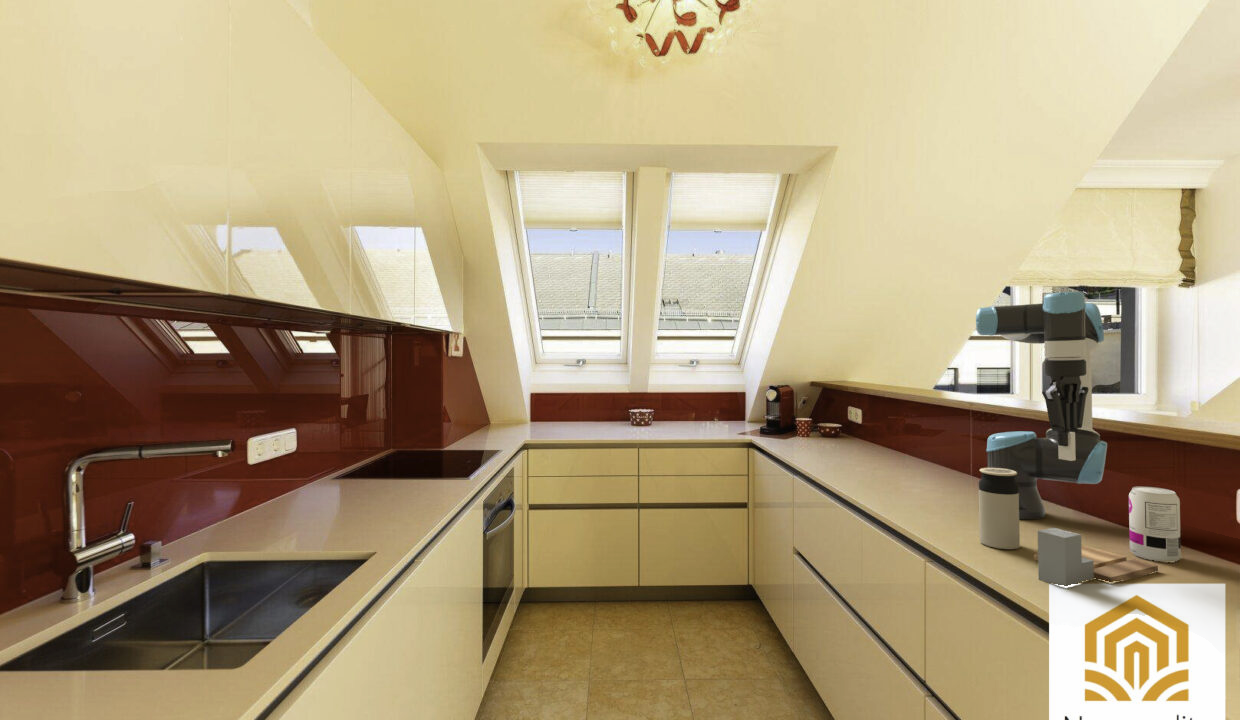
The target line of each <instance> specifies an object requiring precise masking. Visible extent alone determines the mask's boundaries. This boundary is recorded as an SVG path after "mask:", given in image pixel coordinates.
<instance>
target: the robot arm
mask: <svg viewBox="0 0 1240 720" xmlns="http://www.w3.org/2000/svg"><path fill="white" fill-rule="evenodd" d="M1085 299H1086V298H1085V293H1084V292H1082V291H1079V290H1078V291H1062V292H1050V293H1047V294H1045V295H1044V297H1043V303H1032V304H1031V303H1029V304H1015V305H1012V304H1011V305H995V306H993V305H989V306H985V307H980V308H978V309H977V310H976V314H975V325H976V327H975V328H976V332H977V334H978V335H980V336H990V337H992V336H1001V337H1002V338H1003V339H1006V340H1008V341H1011V342H1012V341H1013V342H1018V343H1025V344H1043V348H1044V357H1045V358H1047V359H1046V360H1045V361H1044V374H1045V376H1048V377H1050V382H1049V388H1048V389H1043V390H1042V392H1041V394H1042V396H1043V398H1044V400H1045V405H1046V411H1047V416H1048V422H1049V426H1050V428H1049V429H1047V430H1046V432H1045V437H1037V436H1038V435H1037V434H1036V432H1034V431H1024V430H1023V431H1005V432H998V433H993V434H991V435H989V436H988V438H987V441H986V442H987V443H986V449H985V450H986V455H987V456H986V457H987V458H986V461H987V463H986V464H987V468H1002V469H1009V470H1013V471H1016V472H1017V475H1016V476H1015V481H1016V483H1017V484H1018V486H1019V520H1020V519H1021V520H1038V519H1039V520H1040V519H1043V518H1045V517H1046V508H1045V506H1044V503H1043V500H1042V497H1041V495H1040V493H1039V490H1038V486H1037V483H1038V482H1037V480H1046V481H1056V482H1057V481H1058V482H1065V483H1073V484H1075V483H1076V484H1077V485H1078V484H1079V485H1081V484H1089V485H1090V484H1091V485H1095V484H1096V485H1097V484H1100V482H1101V481H1102V480H1103V476H1104V471H1105V465H1106V458H1107V457H1106V456H1107V449H1108V443H1107V442H1106V441H1104V440H1101V435H1100V434H1099V432H1097V431H1095V430H1094V429H1093V397H1092V395H1093V394H1092V393H1093V388H1092V386H1093V384H1092V352H1093V351H1095V350H1096V349H1097V348H1098V347H1099V346H1098V345H1099V344H1098V343H1102V342H1104V340H1105V333H1104V327H1103V321H1102V315H1101V312H1100V309H1099V307H1098V305H1096V304H1095V303H1091V302H1090V303H1089V302H1088V303H1087V302H1086V300H1085Z"/></svg>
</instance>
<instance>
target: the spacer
mask: <svg viewBox="0 0 1240 720" xmlns="http://www.w3.org/2000/svg"><path fill="white" fill-rule="evenodd" d="M1081 545H1082V534H1080V533H1077V532H1074V531H1069V530H1064V529H1062V528H1057V527H1049V528H1044V529H1039V530H1038V529H1037V554H1038V561H1037V563H1038V565H1037V566H1038V567H1037V568H1038V580H1039V581H1043V582H1045V583H1048V584H1051V583H1053V584H1058V585H1064V586H1068V585H1071V584H1078V583H1082V581H1086V580H1091V579H1094V564H1093V560H1090V559H1086V558H1083V557H1082V551H1081ZM1094 580H1095V579H1094ZM1053 584H1052V585H1053ZM1082 584H1083V583H1082Z"/></svg>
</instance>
